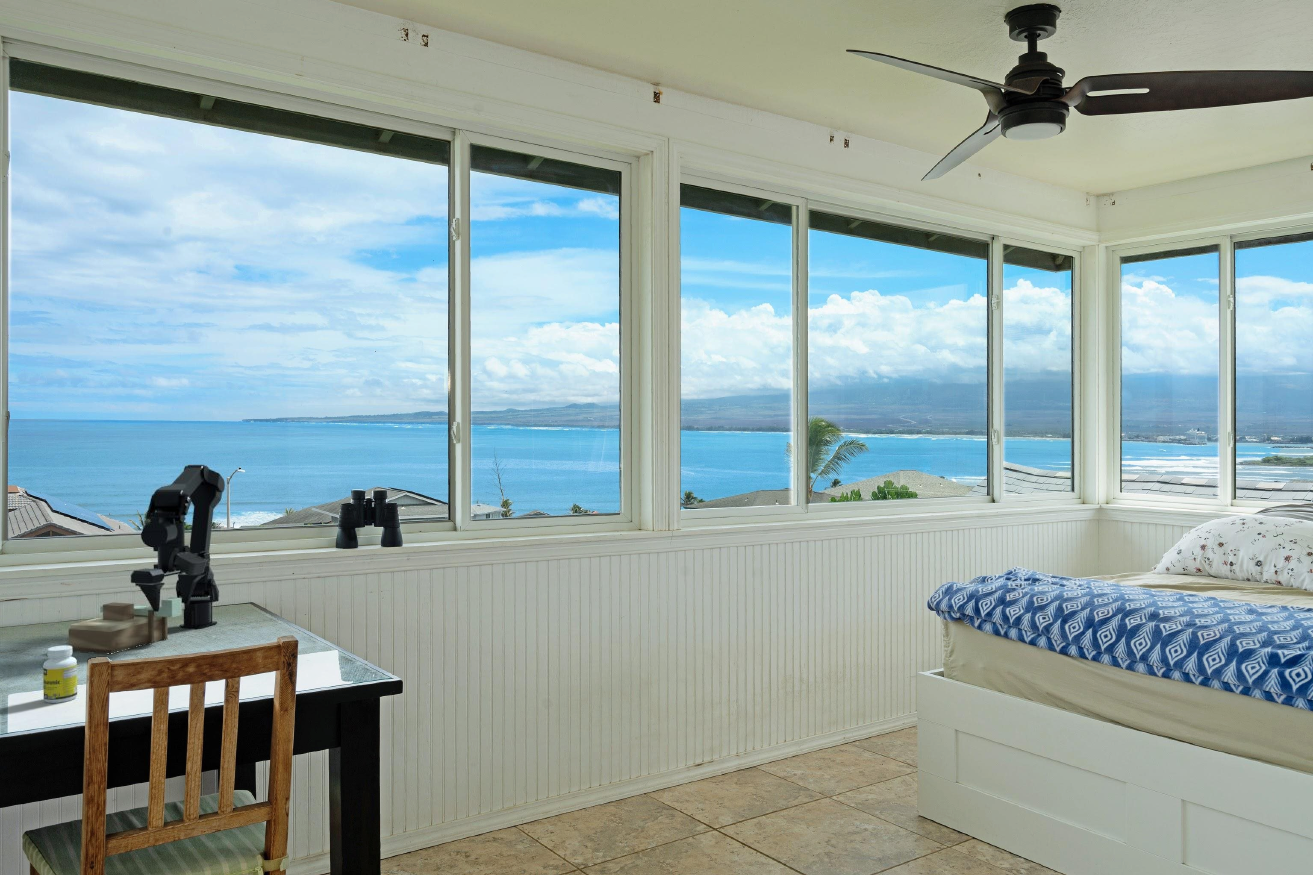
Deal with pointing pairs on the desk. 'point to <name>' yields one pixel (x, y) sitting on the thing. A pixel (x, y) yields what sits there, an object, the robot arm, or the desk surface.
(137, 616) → the lid
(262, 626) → the desk surface
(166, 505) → the robot arm
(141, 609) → the key
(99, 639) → the box
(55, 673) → the supplement bottle
